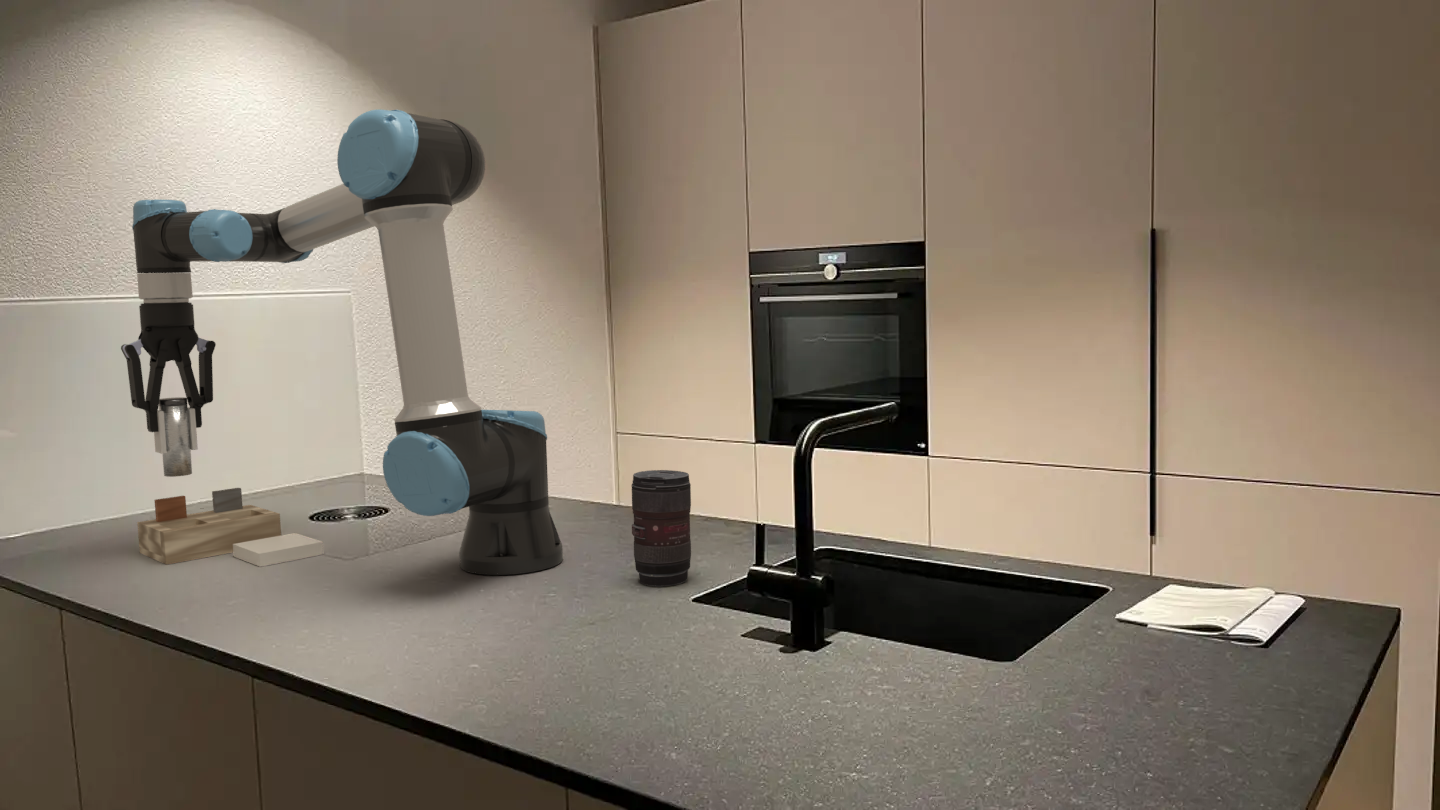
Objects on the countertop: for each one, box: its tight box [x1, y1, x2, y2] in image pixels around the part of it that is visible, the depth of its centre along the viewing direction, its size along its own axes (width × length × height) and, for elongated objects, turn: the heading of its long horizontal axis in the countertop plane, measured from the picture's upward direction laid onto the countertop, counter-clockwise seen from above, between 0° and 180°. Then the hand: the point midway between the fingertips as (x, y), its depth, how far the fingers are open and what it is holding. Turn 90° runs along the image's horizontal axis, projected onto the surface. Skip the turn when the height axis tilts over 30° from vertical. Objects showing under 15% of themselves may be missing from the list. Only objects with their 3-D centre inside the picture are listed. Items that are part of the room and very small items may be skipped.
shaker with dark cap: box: [158, 396, 193, 478], centre depth 176 cm, size 4×4×12 cm
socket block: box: [136, 487, 282, 565], centre depth 182 cm, size 12×18×8 cm, turn 135°
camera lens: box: [631, 469, 692, 587], centre depth 154 cm, size 8×8×15 cm
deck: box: [233, 532, 325, 568], centre depth 176 cm, size 10×10×2 cm
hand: (176, 450), depth 176 cm, fingers closed on shaker with dark cap, 4 cm apart
